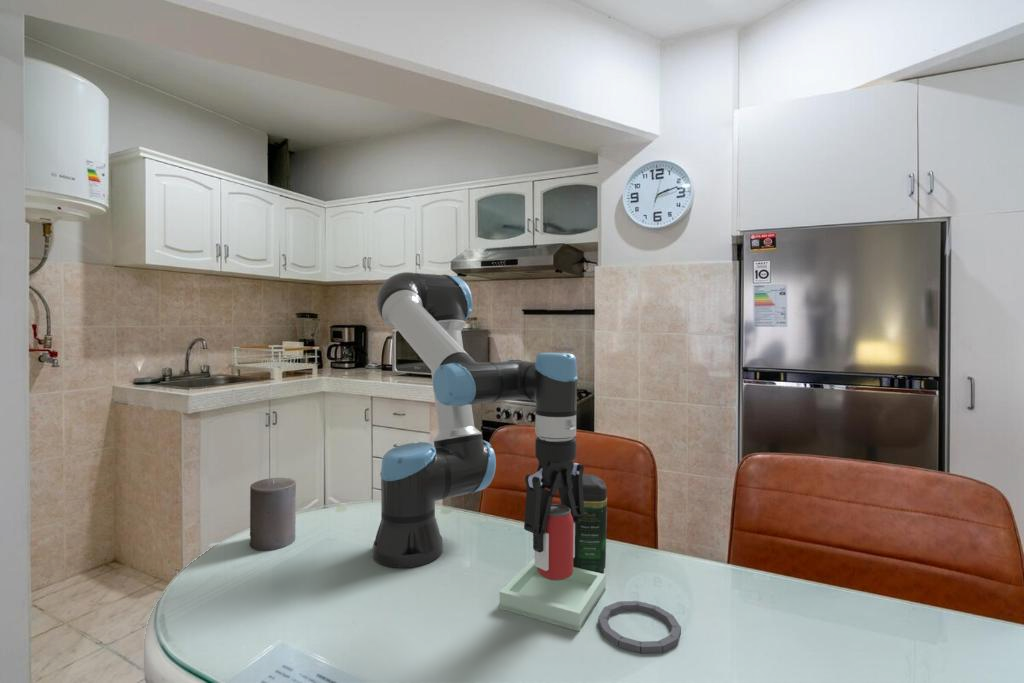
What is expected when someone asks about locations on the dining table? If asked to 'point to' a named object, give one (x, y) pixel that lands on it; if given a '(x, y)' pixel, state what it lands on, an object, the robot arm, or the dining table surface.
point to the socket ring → (634, 644)
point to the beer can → (559, 543)
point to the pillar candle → (272, 513)
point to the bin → (554, 596)
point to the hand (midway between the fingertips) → (555, 561)
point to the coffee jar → (592, 526)
